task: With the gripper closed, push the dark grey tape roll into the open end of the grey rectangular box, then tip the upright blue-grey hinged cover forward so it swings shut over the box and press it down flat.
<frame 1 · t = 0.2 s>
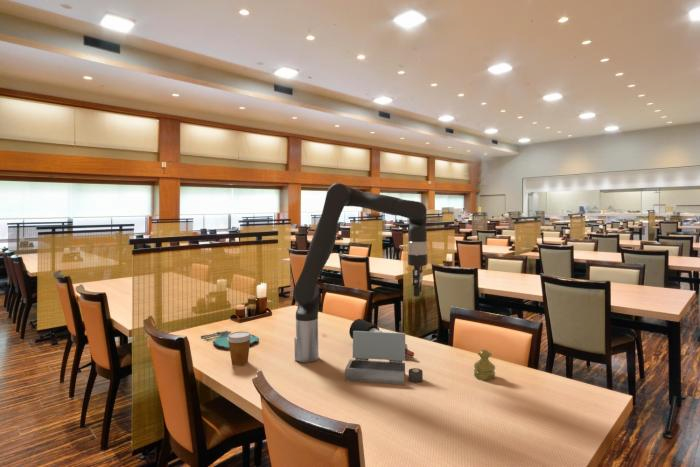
hand: (417, 294, 156), 29 cm above the table, tool pointing down, fingers open, 8 cm apart
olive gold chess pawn: (484, 377, 147), on the table
disposable coffee cup: (239, 363, 162), on the table
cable: (382, 350, 177), on the table
dark grey tape roll: (415, 380, 145), on the table
grey rectangular box: (377, 377, 147), on the table
cutlery set: (230, 342, 191), on the table
cover: (378, 346, 152), point 10 cm above the table, hinge at 100.0°
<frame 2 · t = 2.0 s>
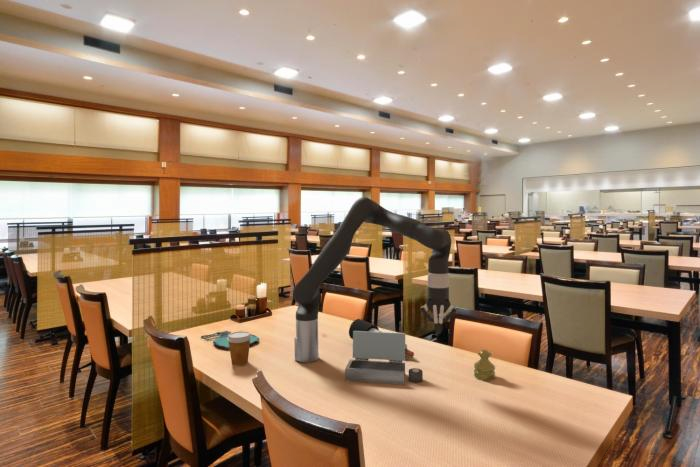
hand: (438, 333, 142), 18 cm above the table, tool pointing down, fingers closed
nothing on the table moved.
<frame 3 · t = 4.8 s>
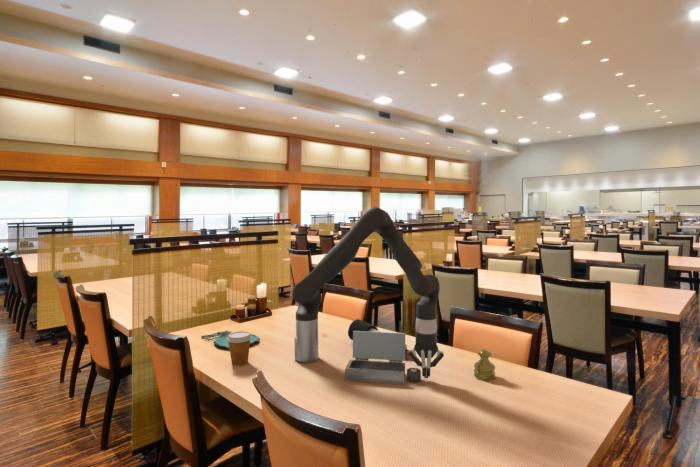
hand: (426, 377, 144), 1 cm above the table, tool pointing down, fingers closed
dark grey tape roll: (413, 379, 145), on the table, touching gripper
everything else where it was.
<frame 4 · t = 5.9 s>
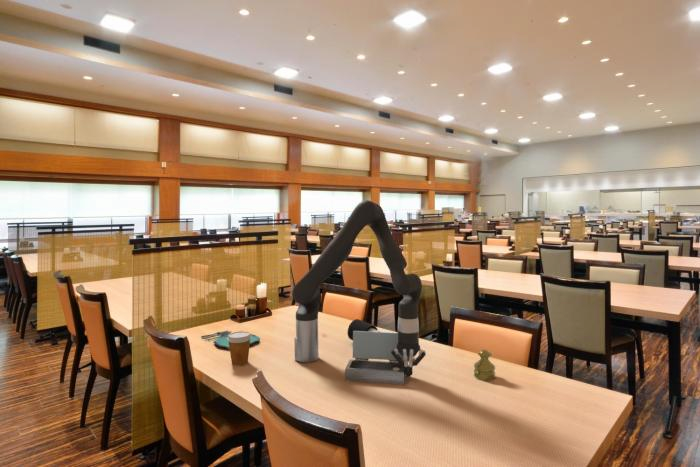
hand: (408, 375, 145), 1 cm above the table, tool pointing down, fingers closed
dark grey tape roll: (396, 378, 146), on the table, touching gripper
everything else where it was.
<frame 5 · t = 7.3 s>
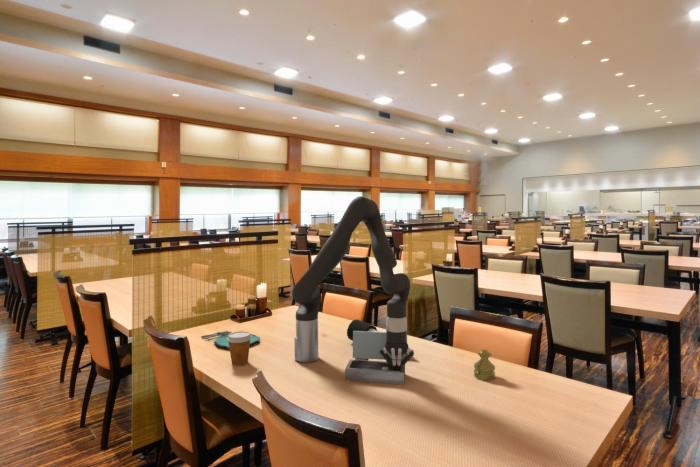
hand: (396, 374, 146), 1 cm above the table, tool pointing down, fingers closed
dark grey tape roll: (385, 377, 147), on the table, touching gripper
everything else where it was.
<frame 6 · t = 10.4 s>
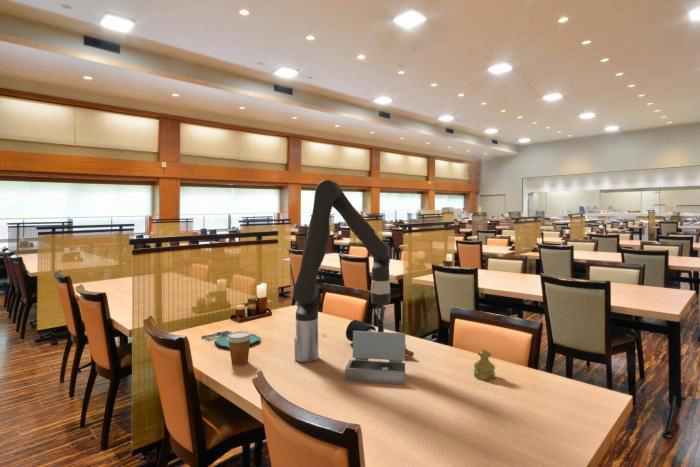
hand: (380, 334, 159), 12 cm above the table, tool pointing down, fingers closed
dark grey tape roll: (385, 378, 147), on the table
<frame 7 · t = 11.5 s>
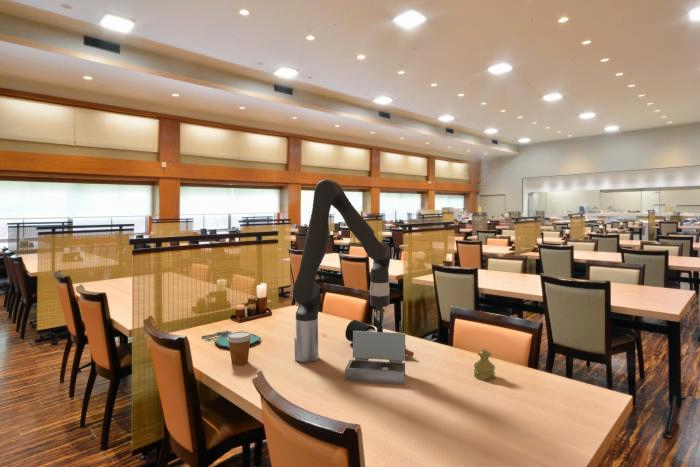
hand: (379, 337, 155), 12 cm above the table, tool pointing down, fingers closed
cover: (378, 346, 152), point 10 cm above the table, hinge at 99.8°, touching gripper
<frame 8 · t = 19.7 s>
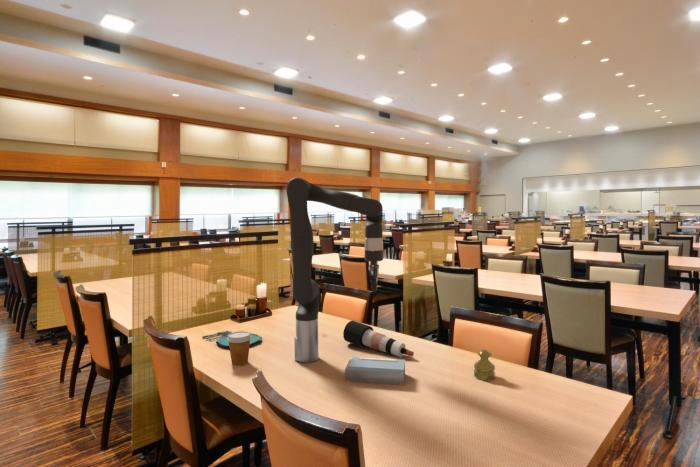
hand: (374, 291, 162), 29 cm above the table, tool pointing down, fingers closed
cover: (377, 363, 147), point 5 cm above the table, hinge at 0.8°
at the end: cover at +1° (first picture: +100°); dark grey tape roll inside the target area on the grey rectangular box (3.4 cm from its centre), point 0.0 cm above the grey rectangular box's base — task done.
